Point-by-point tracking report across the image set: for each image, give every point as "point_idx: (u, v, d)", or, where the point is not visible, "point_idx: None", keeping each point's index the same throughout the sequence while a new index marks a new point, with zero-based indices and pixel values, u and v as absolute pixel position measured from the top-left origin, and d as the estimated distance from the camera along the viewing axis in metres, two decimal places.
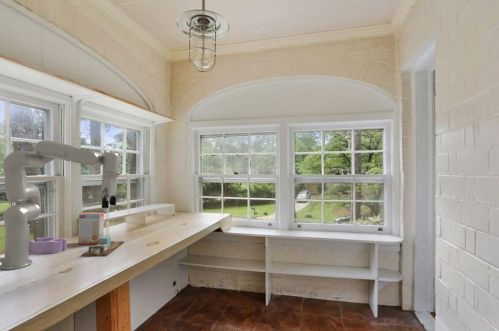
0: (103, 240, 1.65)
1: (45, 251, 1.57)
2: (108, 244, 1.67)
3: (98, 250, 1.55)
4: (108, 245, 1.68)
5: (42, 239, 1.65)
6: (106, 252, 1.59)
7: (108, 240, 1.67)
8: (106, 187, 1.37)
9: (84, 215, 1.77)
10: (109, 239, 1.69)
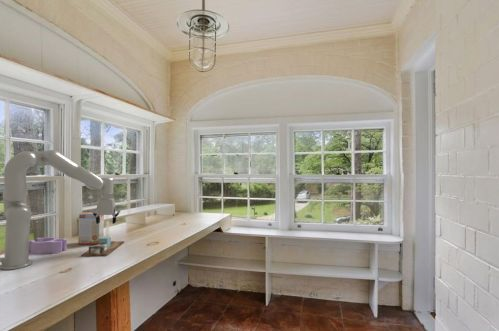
0: (103, 240, 1.65)
1: (45, 251, 1.57)
2: (108, 244, 1.67)
3: (98, 250, 1.55)
4: (108, 245, 1.68)
5: (42, 239, 1.65)
6: (106, 252, 1.59)
7: (108, 240, 1.67)
8: (114, 206, 1.69)
9: (84, 215, 1.77)
10: (109, 239, 1.69)
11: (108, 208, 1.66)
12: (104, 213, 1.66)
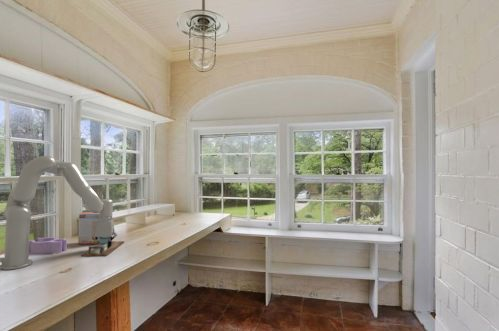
0: (103, 240, 1.65)
1: (45, 251, 1.57)
2: None
3: (98, 250, 1.55)
4: None
5: (43, 239, 1.65)
6: (106, 252, 1.59)
7: (108, 240, 1.67)
8: (113, 229, 1.69)
9: (84, 215, 1.77)
10: None
11: (107, 230, 1.65)
12: (103, 235, 1.65)
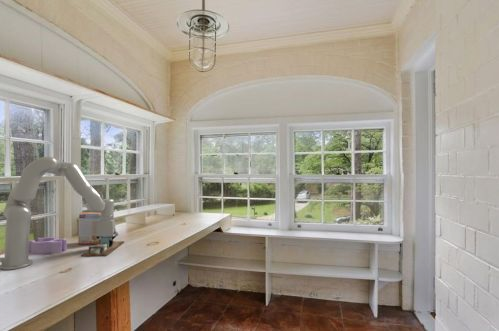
0: (104, 239, 1.67)
1: (45, 251, 1.57)
2: None
3: (98, 250, 1.55)
4: None
5: (43, 239, 1.65)
6: (106, 252, 1.59)
7: (109, 239, 1.69)
8: (114, 228, 1.71)
9: (84, 215, 1.77)
10: None
11: (108, 230, 1.67)
12: (104, 235, 1.67)
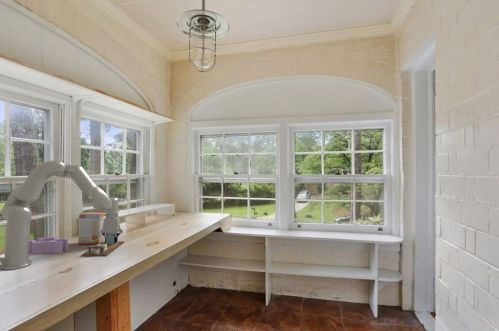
0: (110, 236, 1.75)
1: (46, 251, 1.57)
2: None
3: (98, 250, 1.55)
4: None
5: (43, 239, 1.65)
6: (106, 252, 1.59)
7: (114, 236, 1.77)
8: (119, 226, 1.79)
9: (84, 215, 1.77)
10: None
11: (113, 227, 1.75)
12: (109, 232, 1.75)
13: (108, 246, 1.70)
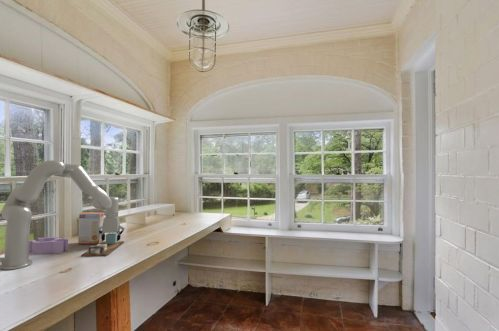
0: (110, 236, 1.75)
1: (46, 251, 1.57)
2: (114, 240, 1.77)
3: (98, 250, 1.55)
4: (114, 241, 1.77)
5: (43, 239, 1.65)
6: (106, 252, 1.59)
7: (114, 236, 1.77)
8: (119, 224, 1.79)
9: (84, 215, 1.77)
10: (115, 235, 1.79)
11: (113, 226, 1.75)
12: (109, 231, 1.75)
13: (108, 246, 1.70)
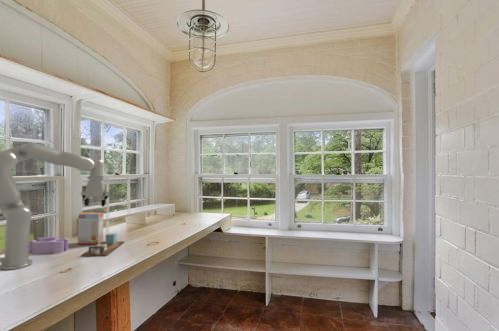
0: (110, 236, 1.75)
1: (47, 251, 1.57)
2: (114, 240, 1.77)
3: (98, 250, 1.55)
4: (114, 241, 1.77)
5: (43, 239, 1.65)
6: (106, 252, 1.59)
7: (114, 236, 1.77)
8: (104, 189, 1.67)
9: (83, 215, 1.77)
10: (115, 235, 1.79)
11: (97, 190, 1.64)
12: (93, 195, 1.63)
13: (108, 246, 1.70)
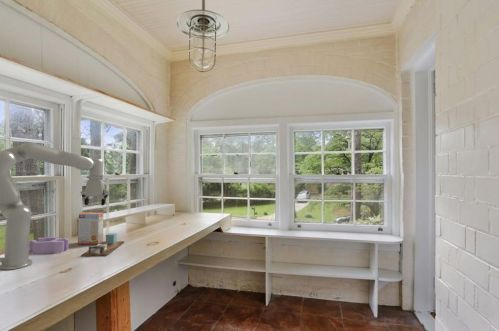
0: (110, 236, 1.75)
1: (47, 251, 1.57)
2: (114, 240, 1.77)
3: (98, 250, 1.55)
4: (114, 241, 1.77)
5: (43, 239, 1.65)
6: (106, 252, 1.59)
7: (114, 236, 1.77)
8: (103, 188, 1.67)
9: (83, 215, 1.77)
10: (115, 235, 1.79)
11: (97, 189, 1.63)
12: (93, 194, 1.63)
13: (108, 246, 1.70)
